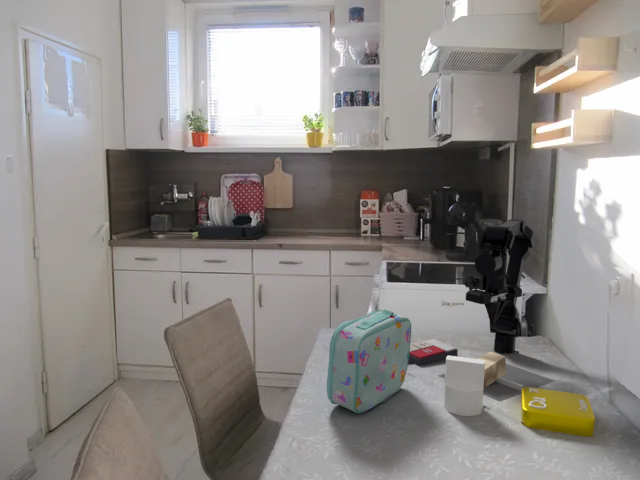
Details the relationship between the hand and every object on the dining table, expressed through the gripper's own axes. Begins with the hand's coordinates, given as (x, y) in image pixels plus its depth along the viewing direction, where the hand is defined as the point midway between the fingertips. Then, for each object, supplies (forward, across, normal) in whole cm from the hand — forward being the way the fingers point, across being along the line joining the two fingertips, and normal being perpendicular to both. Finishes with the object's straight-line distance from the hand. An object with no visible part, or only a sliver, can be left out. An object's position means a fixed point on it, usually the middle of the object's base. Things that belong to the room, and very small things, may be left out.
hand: (492, 322), depth 161 cm
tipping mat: (+13, +8, +8) cm, 17 cm away
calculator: (+14, +11, -15) cm, 23 cm away
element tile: (+14, +15, +30) cm, 36 cm away
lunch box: (+13, +44, -3) cm, 46 cm away
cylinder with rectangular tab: (+13, +29, +14) cm, 35 cm away
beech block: (+8, +8, +8) cm, 14 cm away
